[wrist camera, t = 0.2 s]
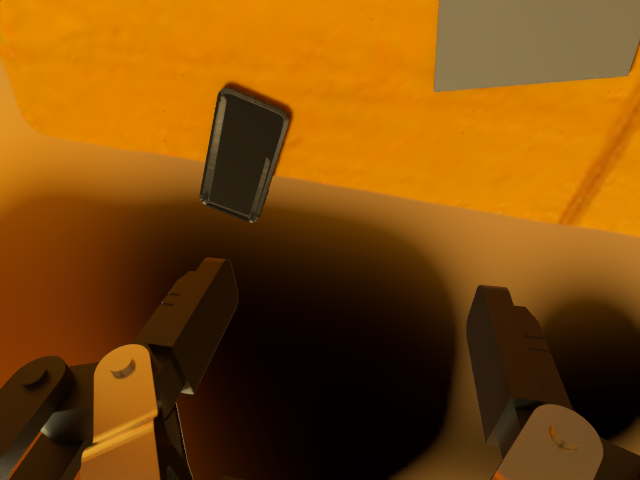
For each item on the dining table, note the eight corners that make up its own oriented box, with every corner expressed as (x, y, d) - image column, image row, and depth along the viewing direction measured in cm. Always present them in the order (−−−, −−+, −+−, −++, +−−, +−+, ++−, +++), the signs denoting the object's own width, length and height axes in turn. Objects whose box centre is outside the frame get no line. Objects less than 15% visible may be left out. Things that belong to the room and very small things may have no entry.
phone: (198, 202, 45) (219, 84, 36) (202, 198, 46) (223, 82, 37) (256, 225, 45) (291, 115, 37) (259, 221, 46) (294, 112, 38)
